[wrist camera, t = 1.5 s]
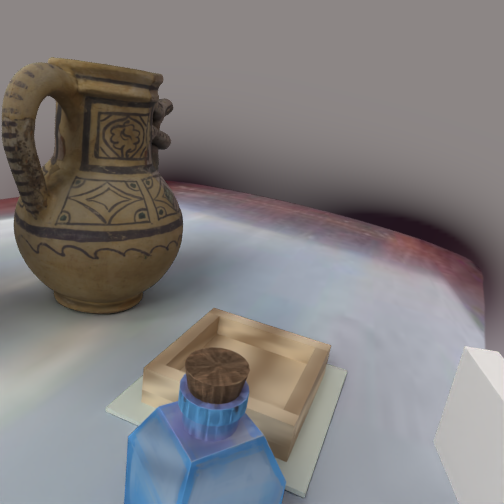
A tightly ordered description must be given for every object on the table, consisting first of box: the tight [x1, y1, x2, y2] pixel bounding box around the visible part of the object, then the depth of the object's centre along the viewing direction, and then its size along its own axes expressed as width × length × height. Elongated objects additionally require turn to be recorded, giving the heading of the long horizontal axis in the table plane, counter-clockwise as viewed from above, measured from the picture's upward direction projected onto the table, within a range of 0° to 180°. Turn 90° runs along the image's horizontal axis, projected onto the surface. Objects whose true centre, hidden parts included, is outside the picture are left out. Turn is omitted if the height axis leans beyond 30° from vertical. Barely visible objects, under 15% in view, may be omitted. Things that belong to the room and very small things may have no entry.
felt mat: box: [106, 364, 347, 498], centre depth 39 cm, size 16×16×1 cm
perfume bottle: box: [124, 347, 286, 504], centre depth 23 cm, size 6×6×12 cm
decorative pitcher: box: [2, 57, 183, 314], centre depth 47 cm, size 22×18×25 cm
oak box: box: [141, 308, 331, 462], centre depth 38 cm, size 12×12×3 cm
